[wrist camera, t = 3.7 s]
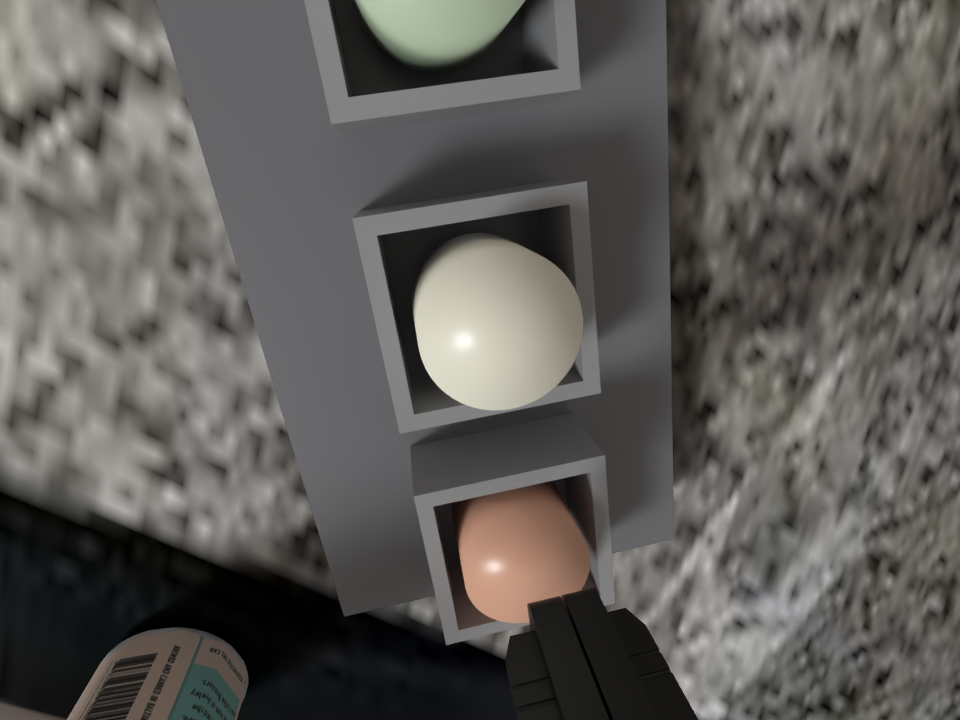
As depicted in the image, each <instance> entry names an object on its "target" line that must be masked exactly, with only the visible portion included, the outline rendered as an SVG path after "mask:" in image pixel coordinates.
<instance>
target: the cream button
mask: <svg viewBox="0 0 960 720" xmlns="http://www.w3.org/2000/svg"><path fill="white" fill-rule="evenodd" d="M412 310H413V317H414V323H415V329H416V335H417V341H418V347H419V352H420V355H421V359H422V361H423V364H424V366H425V369H426V370H427V372H428V374H429V375H430V377H431V378H432V380H433V381H434V382H435V383H436V385H437V386H438V387H439V388H440V389H441V390H442V391H443V392H445V393H446V394H447V395H449V396H450V397H451V398H453V399H455V400H456V401H458V402H460V403H462V404H465V405H467V406H470V407H474V408H478V409H483V410H508V409H514V408H517V407H521V406H524V405H527V404H529V403H532V402H534V401H536V400H537V399H539V398H541V397H543V396H544V395H545V394H547V393H548V392H550V391H551V390H552V389H553V388H554V387H555V386H557V385H558V384H559V382H560V381H561V380H562V379H563V378H564V377H565V375H566V374H567V373H568V371H569V370H570V368H571V367H572V365H573V363H574V361H575V359H576V357H577V354H578V351H579V349H580V345H581V341H582V334H583V314H582V308H581V304H580V300H579V297H578V295H577V293H576V290H575V288H574V287H573V285H572V283H571V282H570V280H569V279H568V278H567V276H566V275H565V274H564V273H563V272H562V271H561V270H560V269H559V268H558V267H557V266H556V265H555V264H553V263H552V262H550V261H549V260H548V259H546V258H544V257H542V256H540V255H538V254H537V253H535V252H533V251H531V250H529V249H527V248H525V247H523V246H521V245H519V244H517V243H515V242H513V241H511V240H509V239H507V238H505V237H502V236H499V235H496V234H491V233H469V234H464V235H460V236H457V237H455V238H452V239H450V240H448V241H447V242H445V243H443V244H442V245H440V246H439V247H438V248H436V249H435V250H434V251H433V252H432V253H431V254H430V255H429V256H428V257H427V259H426V260H425V261H424V263H423V264H422V266H421V268H420V269H419V271H418V274H417V276H416V278H415V282H414V285H413V291H412Z"/></svg>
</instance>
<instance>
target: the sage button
mask: <svg viewBox="0 0 960 720" xmlns="http://www.w3.org/2000/svg"><path fill="white" fill-rule="evenodd" d="M353 2H354V5H355V8H356V11H357V13H358V16H359V18H360V20H361V22H362V24H363V26H364V27H365V29H366V30H367V32H368V33H369V35H370V36H371V38H372V39H373V40H374V41H375V42H376V44H377V45H378V46H379V47H380V48H381V49H382V50H383V51H384V52H385V53H387V54H388V55H389V56H391V57H392V58H393V59H395V60H396V61H398V62H400V63H402V64H403V65H405V66H408V67H410V68H413V69H416V70H420V71H424V72H433V73H438V72H448V71H453V70H457V69H459V68H462V67H465V66H467V65H468V64H470V63H472V62H474V61H475V60H476V59H478V58H479V57H480V56H482V55H483V54H484V53H485V52H486V51H487V50H488V49H489V48H490V46H491V45H492V44H493V42H494V41H495V40H496V39H497V37H498V36H499V35H500V33H501V32H502V31H503V29H504V28H505V27H506V25H507V24H508V23H509V21H510V20H511V19H512V17H513V16H514V15H515V13H516V12H517V11H518V9H519V8H520V7H521V6H522V4H523V3H524V2H525V0H353Z"/></svg>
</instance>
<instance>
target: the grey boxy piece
mask: <svg viewBox="0 0 960 720" xmlns="http://www.w3.org/2000/svg"><path fill="white" fill-rule="evenodd" d="M156 1H157V4H158V8H159V11H160V14H161V17H162V21H163V24H164V27H165V31H166V34H167V37H168V40H169V44H170V47H171V50H172V54H173V57H174V60H175V63H176V67H177V70H178V73H179V77H180V80H181V83H182V86H183V90H184V93H185V96H186V99H187V103H188V106H189V109H190V113H191V116H192V119H193V122H194V126H195V129H196V132H197V136H198V139H199V142H200V145H201V149H202V152H203V155H204V159H205V162H206V165H207V168H208V172H209V175H210V178H211V181H212V185H213V188H214V191H215V195H216V198H217V201H218V204H219V208H220V211H221V214H222V218H223V221H224V224H225V227H226V231H227V234H228V237H229V241H230V244H231V247H232V250H233V254H234V257H235V260H236V264H237V267H238V270H239V273H240V277H241V280H242V283H243V286H244V290H245V293H246V296H247V300H248V303H249V306H250V309H251V313H252V316H253V319H254V323H255V326H256V329H257V332H258V336H259V339H260V342H261V346H262V349H263V352H264V355H265V359H266V362H267V365H268V368H269V372H270V375H271V378H272V382H273V385H274V388H275V391H276V395H277V398H278V401H279V405H280V408H281V411H282V414H283V418H284V421H285V424H286V428H287V431H288V434H289V437H290V441H291V444H292V447H293V450H294V454H295V457H296V460H297V464H298V467H299V470H300V473H301V477H302V480H303V483H304V487H305V490H306V493H307V496H308V500H309V503H310V506H311V510H312V513H313V516H314V519H315V523H316V526H317V529H318V532H319V536H320V539H321V542H322V546H323V549H324V552H325V555H326V559H327V562H328V565H329V569H330V572H331V575H332V578H333V582H334V585H335V588H336V592H337V595H338V598H339V601H340V605H341V608H342V611H343V614H344V617H345V616H349V615H353V614H357V613H362V612H366V611H370V610H374V609H379V608H383V607H387V606H391V605H396V604H400V603H404V602H408V601H412V600H417V599H421V598H425V597H429V596H434V595H435V596H436V600H437V605H438V609H439V614H440V618H441V623H442V627H443V632H444V636H445V641H446V645H448V644H452V643H456V642H460V641H464V640H469V639H473V638H477V637H481V636H485V635H489V634H493V633H497V632H501V631H505V630H509V629H513V628H517V627H521V626H525V625H529V624H530V622H528V623H507V622H502V621H498V620H495V619H492V618H490V617H488V616H486V615H485V614H483V613H482V612H480V611H479V610H478V609H477V608H476V607H475V606H474V605H473V603H472V602H471V600H470V599H469V597H468V594H467V591H466V588H465V583H464V577H463V572H462V566H461V561H460V555H459V550H458V545H457V539H456V534H455V528H454V523H453V517H452V504H453V502H457V501H462V500H466V499H471V498H475V497H480V496H485V495H489V494H494V493H498V492H503V491H507V490H512V489H517V488H521V487H526V486H530V485H535V484H540V483H544V482H549V481H553V482H554V484H555V486H556V488H557V490H558V491H559V493H560V495H561V497H562V499H563V501H564V503H565V504H566V506H567V508H568V510H569V512H570V514H571V516H572V517H573V519H574V521H575V523H576V525H577V527H578V529H579V530H580V532H581V534H582V536H583V538H584V540H585V542H586V544H587V546H588V549H589V552H590V571H589V574H588V578H587V580H586V582H585V585H584V586H583V588H582V589H581V590H586V589H590V588H595V589H596V590H597V592H598V594H599V596H600V598H601V600H602V602H603V604H604V606H606V605H610V604H615V595H614V580H613V565H612V553H616V552H620V551H624V550H628V549H633V548H637V547H641V546H645V545H650V544H654V543H658V542H662V541H667V540H671V539H674V501H673V434H672V367H671V301H670V234H669V167H668V100H667V34H666V0H525V2H524V3H523V4H522V6H521V7H520V8H519V9H518V11H517V12H516V13H515V15H514V16H513V17H512V19H511V20H510V21H509V23H508V24H507V25H506V27H505V28H504V29H503V31H502V32H501V33H500V35H499V36H498V37H497V39H496V40H495V41H494V42H493V44H492V45H491V46H490V48H489V49H488V50H487V51H486V52H485V53H484V54H483V55H482V56H480V57H479V58H478V59H476V60H475V61H474V62H472V63H470V64H468V65H467V66H465V67H462V68H459V69H457V70H453V71H448V72H438V73H433V72H424V71H420V70H416V69H413V68H410V67H408V66H405V65H403V64H402V63H400V62H398V61H396V60H395V59H393V58H392V57H391V56H389V55H388V54H387V53H385V52H384V51H383V50H382V49H381V48H380V47H379V46H378V45H377V44H376V42H375V41H374V40H373V39H372V38H371V36H370V35H369V33H368V32H367V30H366V29H365V27H364V26H363V24H362V22H361V20H360V18H359V16H358V13H357V11H356V8H355V5H354V2H353V0H156ZM469 233H491V234H496V235H499V236H502V237H505V238H507V239H509V240H511V241H513V242H515V243H517V244H519V245H521V246H523V247H525V248H527V249H529V250H531V251H533V252H535V253H537V254H538V255H540V256H542V257H544V258H546V259H548V260H549V261H550V262H552V263H553V264H555V265H556V266H557V267H558V268H559V269H560V270H561V271H562V272H563V273H564V274H565V275H566V276H567V278H568V279H569V280H570V282H571V283H572V285H573V287H574V288H575V290H576V293H577V295H578V297H579V300H580V304H581V308H582V314H583V334H582V341H581V345H580V349H579V351H578V354H577V357H576V359H575V361H574V363H573V365H572V367H571V368H570V370H569V371H568V373H567V374H566V375H565V377H564V378H563V379H562V380H561V381H560V382H559V384H558V385H557V386H555V387H554V388H553V389H552V390H551V391H550V392H548V393H547V394H545V395H544V396H543V397H541V398H539V399H537V400H536V401H534V402H532V403H529V404H527V405H524V406H521V407H517V408H514V409H508V410H483V409H478V408H474V407H470V406H467V405H465V404H462V403H460V402H458V401H456V400H455V399H453V398H451V397H450V396H449V395H447V394H446V393H445V392H443V391H442V390H441V389H440V388H439V387H438V386H437V385H436V383H435V382H434V381H433V380H432V378H431V377H430V375H429V374H428V372H427V370H426V369H425V366H424V364H423V361H422V359H421V355H420V352H419V347H418V341H417V335H416V329H415V323H414V317H413V310H412V291H413V285H414V282H415V278H416V276H417V274H418V271H419V269H420V268H421V266H422V264H423V263H424V261H425V260H426V259H427V257H428V256H429V255H430V254H431V253H432V252H433V251H434V250H435V249H436V248H438V247H439V246H440V245H442V244H443V243H445V242H447V241H448V240H450V239H452V238H455V237H457V236H460V235H464V234H469Z"/></svg>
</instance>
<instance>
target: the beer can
mask: <svg viewBox="0 0 960 720" xmlns="http://www.w3.org/2000/svg"><path fill="white" fill-rule="evenodd" d="M247 687H248V672H247V669H246V665H245V663H244V661H243V659H242V658H241V657H240V655H239V654H238V653H237V652H236V650H235V649H234V648H233V647H232V646H231V645H229V644H228V643H227V642H226V641H224V640H223V639H221V638H219V637H217V636H215V635H212V634H210V633H208V632H204V631H201V630H197V629H191V628H185V627H172V628H163V629H155V630H148V631H145V632H142V633H139V634H137V635H134V636H132V637H130V638H128V639H126V640H125V641H123V642H121V643H119V644H118V645H117V646H116V647H115V648H113V649H112V650H111V651H110V652H109V653H108V654H107V655H106V657H105V658H104V659H103V661H102V662H101V663H100V665H99V667H98V668H97V670H96V672H95V673H94V675H93V677H92V678H91V680H90V682H89V683H88V685H87V687H86V689H85V690H84V692H83V694H82V695H81V697H80V699H79V700H78V702H77V704H76V705H75V707H74V709H73V710H72V712H71V714H70V715H69V717H68V719H67V720H237V717H238V713H239V710H240V706H241V703H242V701H243V699H244V697H245V695H246V691H247Z"/></svg>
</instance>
